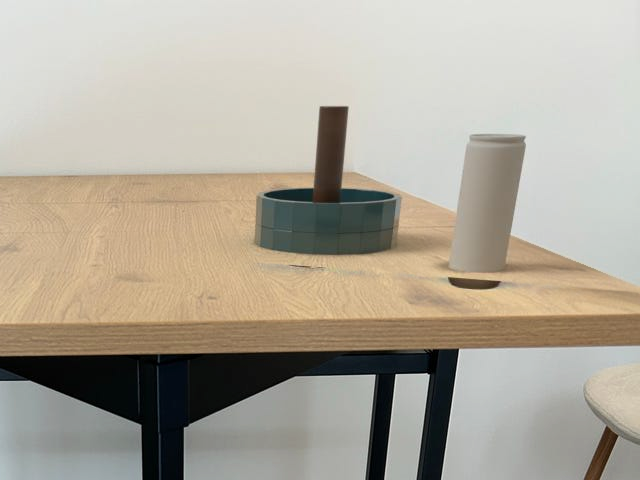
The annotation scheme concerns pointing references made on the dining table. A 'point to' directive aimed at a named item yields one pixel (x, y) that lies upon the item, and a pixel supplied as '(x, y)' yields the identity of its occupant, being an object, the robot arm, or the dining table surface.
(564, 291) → the dining table surface
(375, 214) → the bowl
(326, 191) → the stick
